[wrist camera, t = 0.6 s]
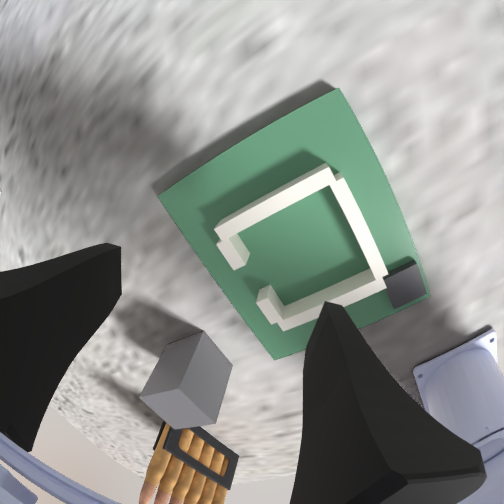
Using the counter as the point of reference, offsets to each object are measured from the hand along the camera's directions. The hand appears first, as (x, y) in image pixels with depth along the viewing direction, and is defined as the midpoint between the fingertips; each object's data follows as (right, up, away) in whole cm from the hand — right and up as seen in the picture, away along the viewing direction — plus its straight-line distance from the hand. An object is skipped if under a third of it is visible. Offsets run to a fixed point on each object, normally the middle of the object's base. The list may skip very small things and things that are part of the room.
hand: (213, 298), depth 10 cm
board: (+4, +2, +9) cm, 10 cm away
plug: (-3, -7, +14) cm, 16 cm away
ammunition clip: (-4, -19, +20) cm, 28 cm away
